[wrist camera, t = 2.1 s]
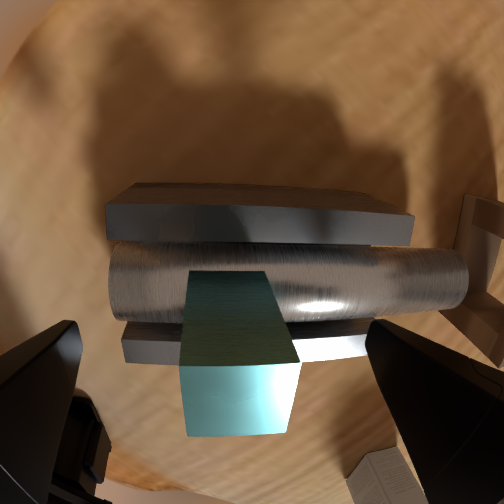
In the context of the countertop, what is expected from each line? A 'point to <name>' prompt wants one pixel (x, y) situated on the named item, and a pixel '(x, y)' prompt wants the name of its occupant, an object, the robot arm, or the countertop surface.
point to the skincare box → (384, 480)
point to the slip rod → (266, 313)
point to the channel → (253, 232)
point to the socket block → (480, 276)
